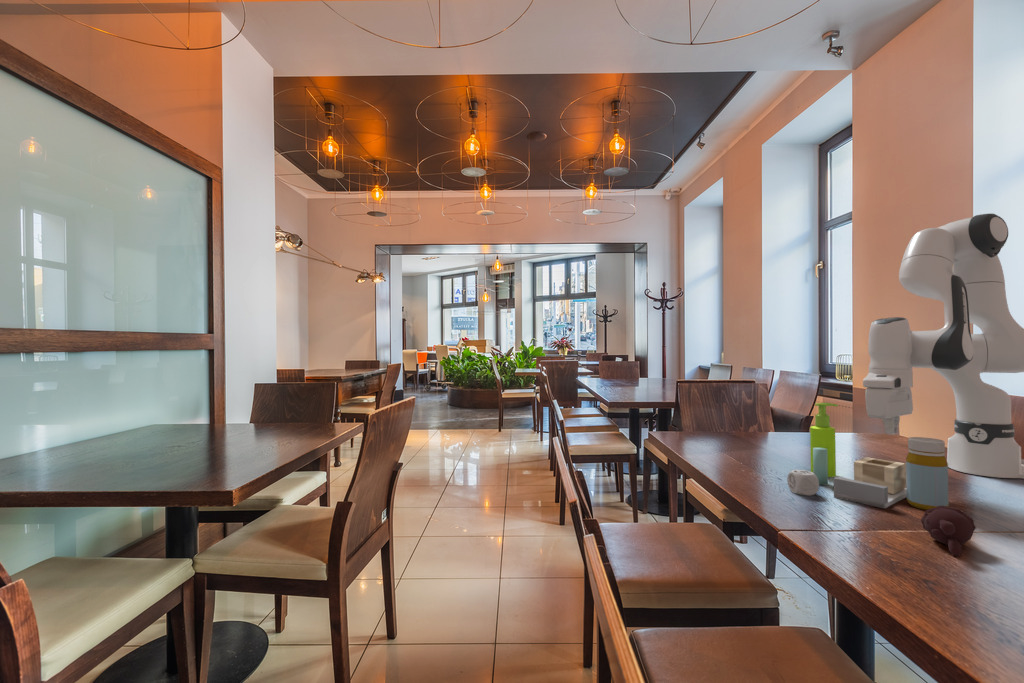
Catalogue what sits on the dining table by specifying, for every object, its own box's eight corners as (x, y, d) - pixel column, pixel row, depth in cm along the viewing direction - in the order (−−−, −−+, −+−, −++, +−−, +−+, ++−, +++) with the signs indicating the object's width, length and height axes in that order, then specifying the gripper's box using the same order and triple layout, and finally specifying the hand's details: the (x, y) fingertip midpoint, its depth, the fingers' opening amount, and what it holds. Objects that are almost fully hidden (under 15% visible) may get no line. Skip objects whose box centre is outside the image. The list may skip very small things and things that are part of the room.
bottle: (956, 513, 101) (955, 443, 102) (919, 511, 103) (918, 442, 103) (934, 502, 108) (933, 437, 108) (899, 500, 110) (898, 436, 110)
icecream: (915, 493, 95) (916, 522, 84) (964, 491, 90) (972, 521, 79) (927, 528, 94) (929, 561, 83) (977, 527, 90) (987, 563, 78)
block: (867, 480, 122) (866, 457, 122) (906, 488, 115) (905, 463, 115) (854, 485, 117) (853, 461, 117) (893, 494, 110) (893, 468, 111)
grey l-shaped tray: (864, 483, 123) (863, 466, 123) (912, 493, 115) (912, 475, 115) (833, 497, 113) (833, 478, 113) (884, 508, 105) (884, 488, 105)
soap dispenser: (844, 477, 129) (843, 404, 130) (819, 477, 129) (818, 404, 130) (830, 471, 135) (829, 401, 135) (806, 471, 135) (805, 401, 136)
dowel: (816, 480, 126) (816, 446, 127) (830, 483, 124) (829, 449, 124) (811, 482, 125) (810, 448, 125) (824, 485, 122) (824, 450, 122)
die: (819, 495, 114) (819, 475, 114) (798, 495, 114) (798, 475, 114) (807, 489, 119) (807, 469, 119) (787, 489, 119) (786, 469, 119)
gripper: (890, 378, 130) (891, 429, 130) (859, 380, 118) (860, 435, 118) (919, 379, 125) (920, 432, 124) (890, 381, 113) (891, 439, 113)
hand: (891, 434), depth 121 cm, fingers closed
